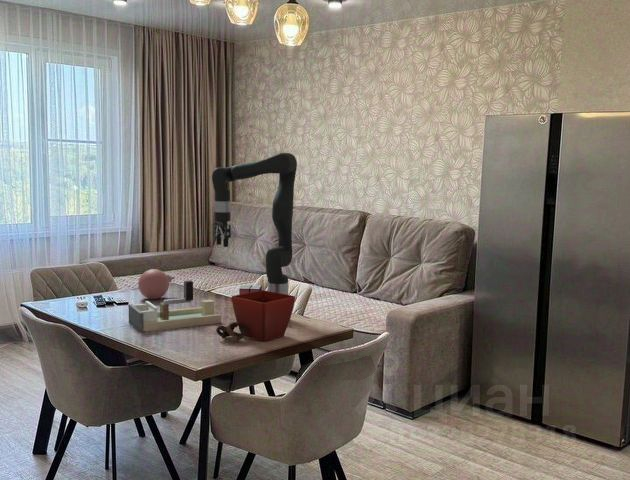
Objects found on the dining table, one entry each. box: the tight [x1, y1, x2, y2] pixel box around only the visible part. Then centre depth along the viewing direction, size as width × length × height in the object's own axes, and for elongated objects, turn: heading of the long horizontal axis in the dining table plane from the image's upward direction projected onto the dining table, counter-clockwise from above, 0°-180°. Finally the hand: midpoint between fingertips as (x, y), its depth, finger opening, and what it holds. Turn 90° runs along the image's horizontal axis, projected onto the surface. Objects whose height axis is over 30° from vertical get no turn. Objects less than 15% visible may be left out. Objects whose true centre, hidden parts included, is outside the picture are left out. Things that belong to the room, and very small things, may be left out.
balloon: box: [137, 268, 175, 300], centre depth 327 cm, size 15×20×15 cm
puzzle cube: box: [238, 284, 263, 295], centre depth 312 cm, size 10×10×10 cm
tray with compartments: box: [128, 299, 222, 333], centre depth 279 cm, size 18×36×9 cm, turn 121°
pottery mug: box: [215, 321, 246, 344], centre depth 253 cm, size 12×10×8 cm
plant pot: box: [231, 289, 296, 342], centre depth 259 cm, size 19×19×17 cm
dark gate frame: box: [159, 279, 194, 320], centre depth 278 cm, size 5×14×16 cm, turn 121°
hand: (222, 245), depth 294 cm, fingers open, 8 cm apart
